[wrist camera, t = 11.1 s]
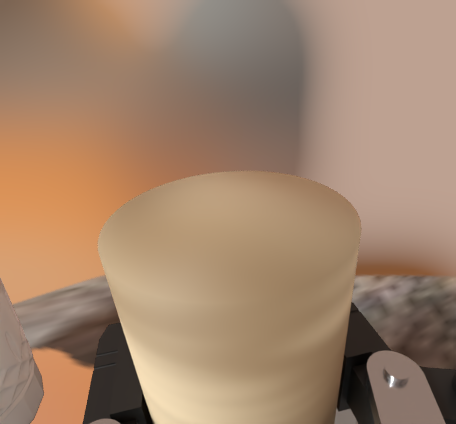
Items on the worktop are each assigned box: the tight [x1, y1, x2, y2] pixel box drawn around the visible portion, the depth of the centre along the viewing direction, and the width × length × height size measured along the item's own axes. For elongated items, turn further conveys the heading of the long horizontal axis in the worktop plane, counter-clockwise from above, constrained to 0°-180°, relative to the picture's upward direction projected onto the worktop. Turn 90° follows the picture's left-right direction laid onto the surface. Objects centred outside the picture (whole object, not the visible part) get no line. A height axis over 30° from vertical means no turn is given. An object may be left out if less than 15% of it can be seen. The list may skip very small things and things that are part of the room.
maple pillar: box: [98, 171, 361, 424], centre depth 9 cm, size 5×5×12 cm
